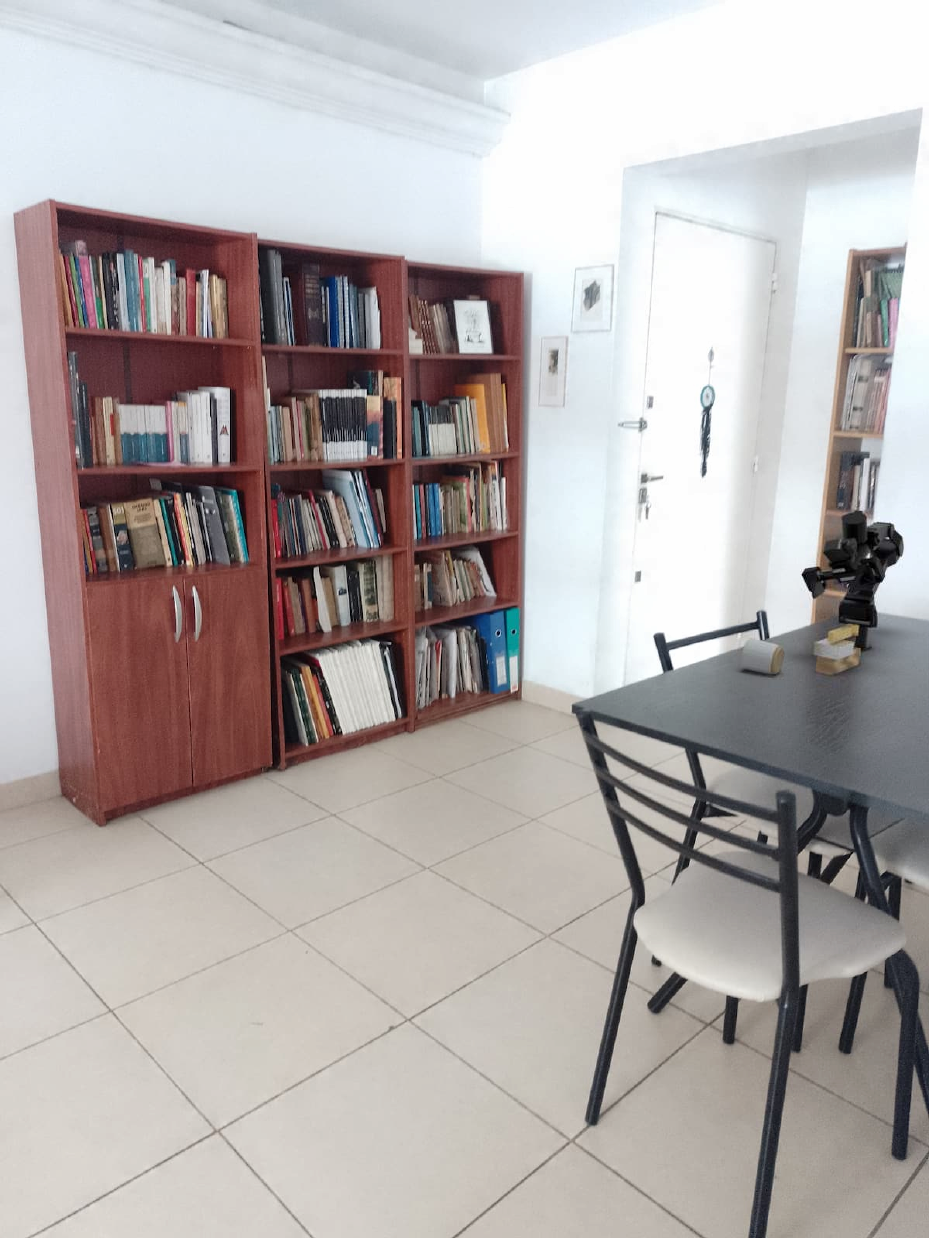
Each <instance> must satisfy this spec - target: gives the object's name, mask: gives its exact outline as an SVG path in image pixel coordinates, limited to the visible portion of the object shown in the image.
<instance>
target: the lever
mask: <svg viewBox="0 0 929 1238" xmlns="http://www.w3.org/2000/svg"><path fill="white" fill-rule="evenodd" d="M858 630H859V625H857V624H847V626H846V625H844V626H841V627H838V628H835V629H832V630H829V631H828V632H827V633H828V634H827V638H828V640H827V642H832V643H834V642H836V641H839V640H844V639H845V638H848V637H850V636H858Z"/></svg>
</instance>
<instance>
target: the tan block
mask: <svg viewBox="0 0 929 1238" xmlns="http://www.w3.org/2000/svg"><path fill="white" fill-rule="evenodd" d="M855 640H856V636H850V637H848V638H847V641H852V642H854V646H853V654H851V655H849V656H846V657H844V658H841V659H839V660H836V659H832V658H827V657H822V656H817V655H816V665H815V673H819V674H823V675H824V674H825V675H828V674H829V676H834V675H836V674H838V673H842V672H843V671H846V670H848V669H851V668H853V667H855V666H858V665H860V658H861V652H862V651H861V648H856V647H855ZM833 674H834V675H833Z"/></svg>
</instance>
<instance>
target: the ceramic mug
mask: <svg viewBox="0 0 929 1238" xmlns="http://www.w3.org/2000/svg"><path fill="white" fill-rule="evenodd" d="M784 660H785V650H784V648H783V646H782V645H781V646H780V645H779V644H777V643H774V642H773V643H772V642H768V641H764V640H761V639H756V638H753V637H749V638H748V639H747V640H746V641H745V643H744V646H743V648H742V652H741V656H740V664H741V668H742V669H743V670H747V671H752V672H757V673H762V674H765V675H766V674H767V675H776V674H778V673H779V672H780V671H781V669H782V667H783V664H784Z"/></svg>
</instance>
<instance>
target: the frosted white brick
mask: <svg viewBox="0 0 929 1238" xmlns="http://www.w3.org/2000/svg"><path fill="white" fill-rule="evenodd" d="M827 640H828V637H826V638H824V639H821V640H818V641H815V642H814V643H813V644H814V646H813V651H812V653H813V656H816V657H817V656H822V657H827V658H832V659H836V660H839V659H841V658H844V657H846V656H849V655H851V654H853V646H854V642H852V641H846V640H844V639H842V640H839V641H836V642H834V643H832V642H827Z"/></svg>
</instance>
